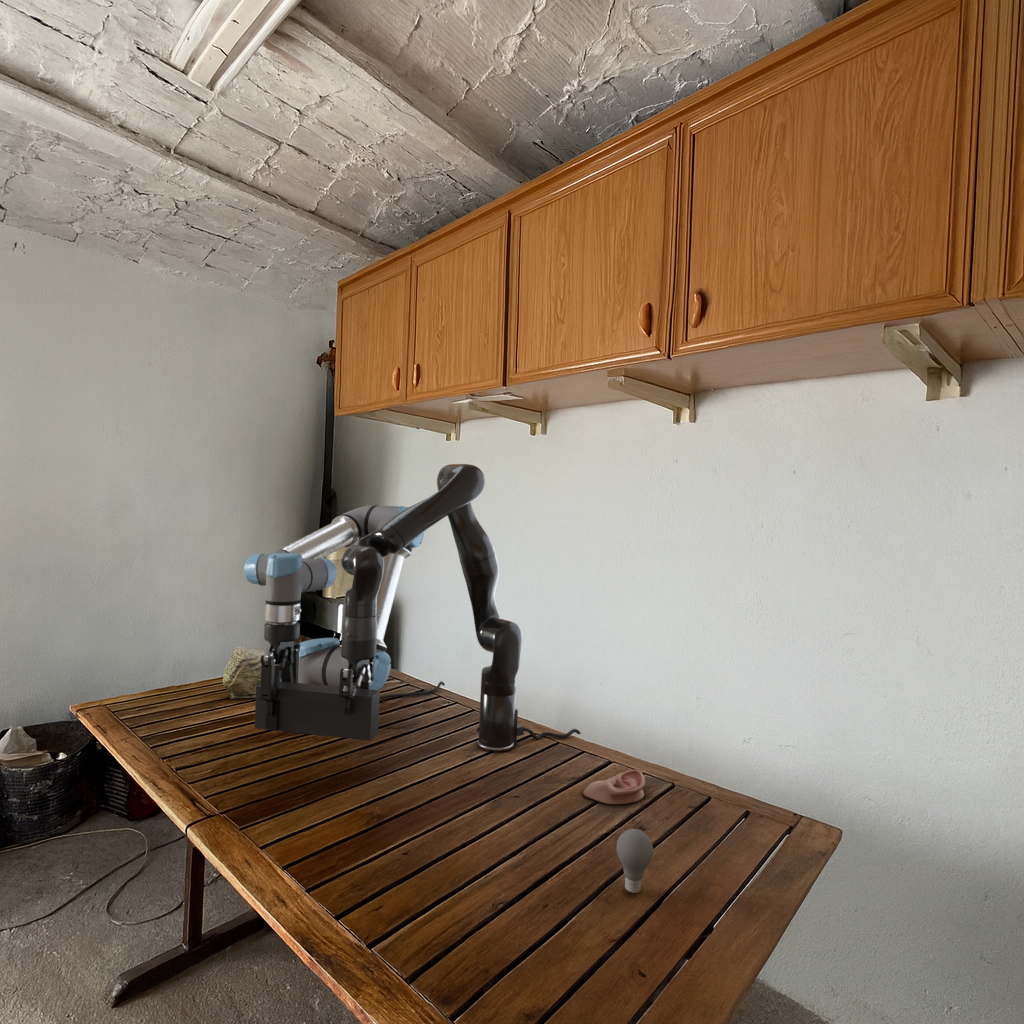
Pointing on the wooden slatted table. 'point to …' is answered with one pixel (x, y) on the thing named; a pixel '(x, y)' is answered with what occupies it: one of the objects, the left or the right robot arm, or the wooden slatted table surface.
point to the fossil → (243, 672)
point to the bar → (322, 711)
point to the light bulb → (634, 857)
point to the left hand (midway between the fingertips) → (278, 724)
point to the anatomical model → (618, 788)
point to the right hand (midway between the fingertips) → (356, 708)
